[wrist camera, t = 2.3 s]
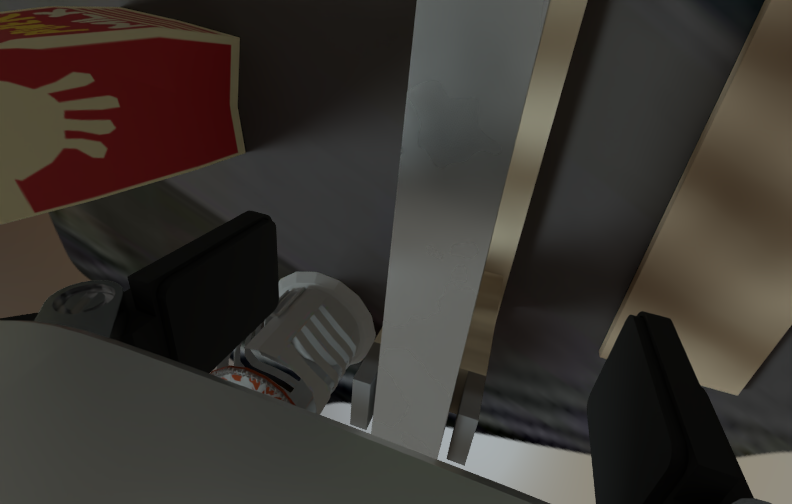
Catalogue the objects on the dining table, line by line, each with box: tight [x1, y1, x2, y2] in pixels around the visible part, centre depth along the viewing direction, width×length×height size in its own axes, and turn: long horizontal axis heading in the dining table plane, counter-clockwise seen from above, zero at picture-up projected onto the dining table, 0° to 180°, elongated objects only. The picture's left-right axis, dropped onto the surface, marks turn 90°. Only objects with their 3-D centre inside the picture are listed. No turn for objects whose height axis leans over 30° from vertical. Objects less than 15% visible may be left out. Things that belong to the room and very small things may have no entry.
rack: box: [350, 0, 588, 465], centre depth 18 cm, size 24×6×12 cm, turn 174°
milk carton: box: [0, 6, 246, 225], centre depth 20 cm, size 9×9×20 cm
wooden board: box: [599, 0, 792, 396], centre depth 20 cm, size 24×8×1 cm, turn 174°
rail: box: [371, 0, 551, 459], centre depth 14 cm, size 24×3×3 cm, turn 174°
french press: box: [210, 272, 376, 415], centre depth 23 cm, size 10×12×25 cm
